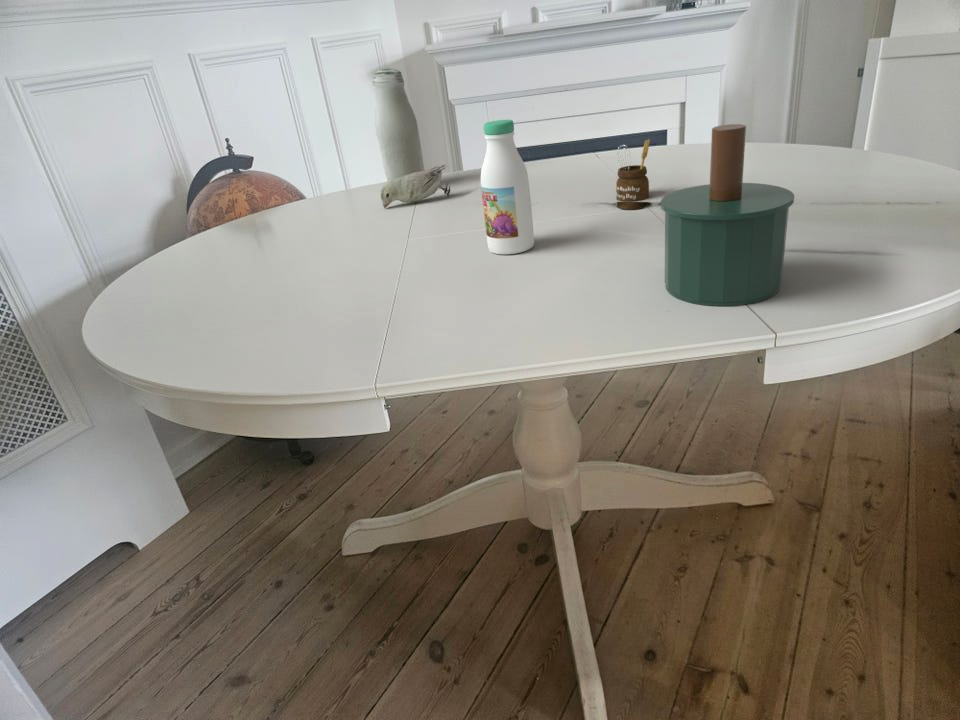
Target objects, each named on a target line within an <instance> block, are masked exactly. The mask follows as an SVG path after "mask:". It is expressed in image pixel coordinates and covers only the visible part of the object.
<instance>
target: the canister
mask: <svg viewBox="0 0 960 720" xmlns="http://www.w3.org/2000/svg"><path fill="white" fill-rule="evenodd" d="M789 209H790V207H788V208H787V209H785V210H782V211H780V212H777V213H773V214H769V215H765V216H760V217H754V218H746V219H735V220H699V219H689V218H683V217H678V216H674V215H671V214H668V213H666V212H665V211H664V283H665V290H666V291H667V293H668V294H669V295H671V296H672V297H674V298H676V299H678V300H680V301H683V302H685V303H691V304H696V305H700V306H708V307H736V306H737V307H738V306H745V305H746V306H747V305H751V304H757V303H760V302H763V301H766V300H769V299H770V298H772V297H775V295H776V294H777V295H778V293H779V292H780V290H781V287H782V286H781V285H782V281H783V272H784V264H785V263H784V262H785V252H786V243H787V242H786V240H787V231H788V221H789Z"/></svg>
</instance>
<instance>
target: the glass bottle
mask: <svg viewBox="0 0 960 720" xmlns="http://www.w3.org/2000/svg"><path fill="white" fill-rule="evenodd" d="M372 88H373V92H374V95H375V117H374V119H375V122H374V125H375V132H376V137H377V142H378V146H379V150H380V154H381V160H382V165H383V170H384V174H385V178H386V181H389V180H391V179H394V178H400V177H402V176H405V175H408V174H411V173H415V172H420V171H425V166H424V165H425V164H424V157H423V151H422V145H421V137H420V131H419V125H418V121H417V120H418V119H417V117H416V114H415V112H414V108H413V107H412V106H411V103H410V100H409V97H408V95H407V92H406V91H405V80H404V78H403V74H402V71H400V70H398V69H396V68H390V67H388V68H383V69H378V70H377V71H376V72H375V73H374V74H373V76H372Z"/></svg>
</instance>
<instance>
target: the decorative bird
mask: <svg viewBox="0 0 960 720" xmlns="http://www.w3.org/2000/svg"><path fill="white" fill-rule="evenodd" d="M447 167H448V163H447V162H446V163H444V164H443V163H442V164H440V165H435V166H433V167H430V168H428V169H426V170H425V169H424V171H420V172H415V173H411V174H408V175H405V176H402V177H400V178H394V179H391V180H389V181H388V180H386V181H385V182H384V184H383V185H382V187H381V190H380V199H381V203H382V207H383V209H386V208H387V207H389V205H390V204H392V203H393V202H396V201H399V202H401V203H406V204H407V203H415V202H419V201H422V200H424V199H427V198H429V197H430V196H433V195H434V194H436V192H437V191H438V189H441V190H442V191H444V192H443V193H444V194H445V195H446V196H447V198H449V196H450V193H451V186H452V184H450V185H449V183H446V186H445V187H442V186H441V180H442V175H443V172H442V171H443V170H445V169H447ZM448 185H449V186H448Z"/></svg>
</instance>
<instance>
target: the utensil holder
mask: <svg viewBox="0 0 960 720" xmlns="http://www.w3.org/2000/svg"><path fill="white" fill-rule="evenodd" d="M650 143H651V139H650V138H648V139H647V140H644V144H643V149H642V153H641V157H640V158H641V159H642V160H641V164H639V165H638V164H637V165H636V164H635V165H634V164H633V165H631V162H632V161H629V164H628V161H625V160H624V158H622V160H623V161H622V160H621V159H617V161H618V163H619V165H620V167H619V168H618V169H617V177H618V178H617V179H616V183H615V196H616V198H615V199H616V207H617V208H618V209H620V210H623V211H624V210H625V211H628V210H629V211H631V210H633V211H634V210H640V209H643V208H646V207H648V206H649V201H644V200H647V199H649V197H650V180H649V178H648V176H647V174H648V169H647V167H646V166H645V165H644V164H645V159H646V158H647V156H648V154H649V147H650ZM622 148H623V149H626V152H631V150H630V149H627V145H626V144H622V145H620V147H618V148H617V150H616V152H619V150H622ZM624 153H625V150H624ZM624 153H621V154H622V156H625V158H627V157H629V158H632V157H631V153H626V154H627V156H626V155H623V154H624ZM619 155H620V154H619V153H616V156H617V157H619V158H621V155H620V156H619ZM623 162H626V163H623ZM625 164H626V165H625Z"/></svg>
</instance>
